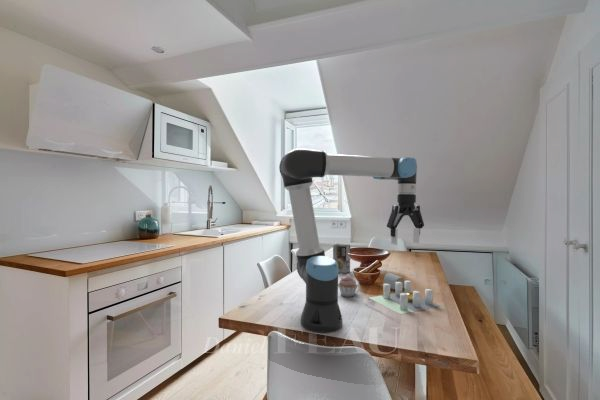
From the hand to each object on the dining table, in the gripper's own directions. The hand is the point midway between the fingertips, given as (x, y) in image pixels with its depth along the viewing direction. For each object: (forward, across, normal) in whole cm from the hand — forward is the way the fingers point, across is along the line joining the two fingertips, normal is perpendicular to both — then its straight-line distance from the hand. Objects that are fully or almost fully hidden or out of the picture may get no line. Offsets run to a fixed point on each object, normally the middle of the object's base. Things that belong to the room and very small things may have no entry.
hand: (405, 243), depth 130 cm
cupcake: (+26, -17, +19) cm, 36 cm away
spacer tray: (+26, -1, 0) cm, 26 cm away
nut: (+25, +3, -1) cm, 25 cm away
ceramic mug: (+26, +10, +16) cm, 33 cm away
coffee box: (+26, +5, +56) cm, 62 cm away
